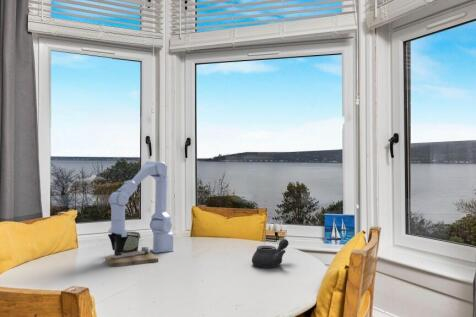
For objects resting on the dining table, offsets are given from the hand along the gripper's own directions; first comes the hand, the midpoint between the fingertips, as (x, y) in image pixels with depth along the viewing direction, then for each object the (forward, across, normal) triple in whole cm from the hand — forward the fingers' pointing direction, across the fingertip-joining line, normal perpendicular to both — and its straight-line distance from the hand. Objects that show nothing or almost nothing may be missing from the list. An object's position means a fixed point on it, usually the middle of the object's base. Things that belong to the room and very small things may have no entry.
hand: (117, 251), depth 167 cm
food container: (+5, -10, +10) cm, 15 cm away
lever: (+3, 0, +6) cm, 7 cm away
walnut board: (+4, +3, +5) cm, 7 cm away
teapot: (+5, +44, +51) cm, 68 cm away
